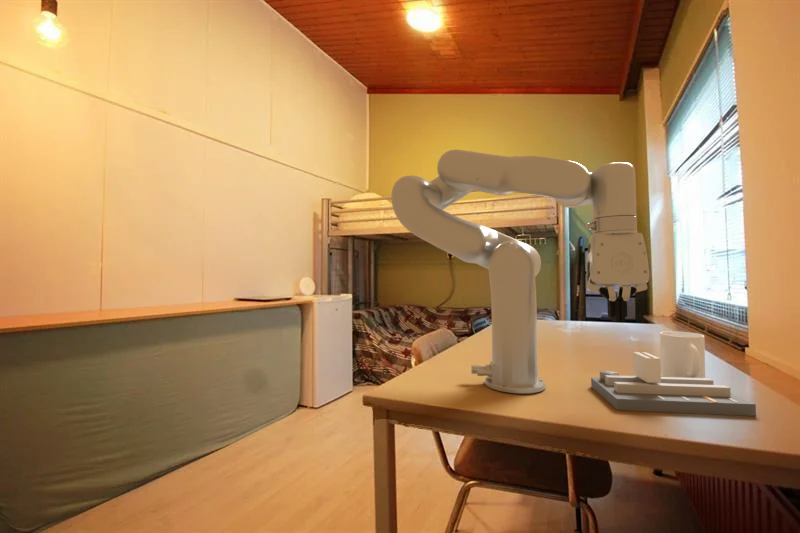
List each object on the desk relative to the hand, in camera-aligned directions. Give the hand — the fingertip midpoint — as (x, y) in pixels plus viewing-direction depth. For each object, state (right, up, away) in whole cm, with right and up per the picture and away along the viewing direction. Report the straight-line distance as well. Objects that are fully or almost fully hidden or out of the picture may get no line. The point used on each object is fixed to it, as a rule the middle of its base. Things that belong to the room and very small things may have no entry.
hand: (617, 320), depth 76 cm
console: (+8, -15, -1) cm, 17 cm away
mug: (+21, -15, +11) cm, 28 cm away
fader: (+5, -13, -1) cm, 14 cm away
